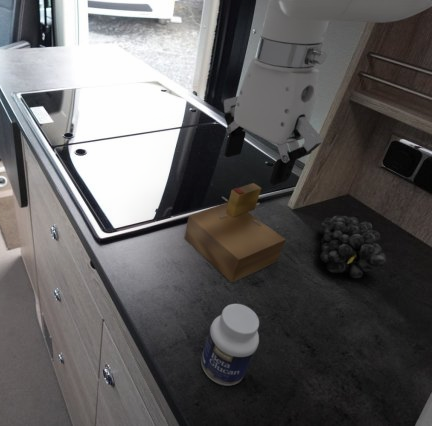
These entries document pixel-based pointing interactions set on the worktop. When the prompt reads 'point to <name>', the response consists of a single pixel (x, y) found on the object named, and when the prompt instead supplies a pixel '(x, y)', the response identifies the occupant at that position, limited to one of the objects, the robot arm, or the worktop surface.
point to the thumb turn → (243, 199)
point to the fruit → (350, 246)
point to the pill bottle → (230, 345)
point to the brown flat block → (233, 241)
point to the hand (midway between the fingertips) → (253, 167)
